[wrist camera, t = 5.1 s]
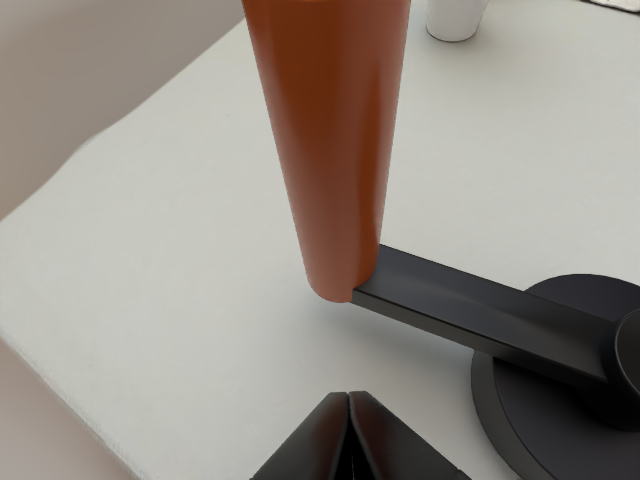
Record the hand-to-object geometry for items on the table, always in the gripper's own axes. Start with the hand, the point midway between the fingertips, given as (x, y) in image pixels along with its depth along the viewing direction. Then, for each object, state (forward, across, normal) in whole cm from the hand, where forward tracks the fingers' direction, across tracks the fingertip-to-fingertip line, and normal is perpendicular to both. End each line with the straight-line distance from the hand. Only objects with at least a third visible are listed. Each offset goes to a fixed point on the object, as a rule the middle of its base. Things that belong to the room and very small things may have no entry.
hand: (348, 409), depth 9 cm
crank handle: (+6, +5, -1) cm, 8 cm away
